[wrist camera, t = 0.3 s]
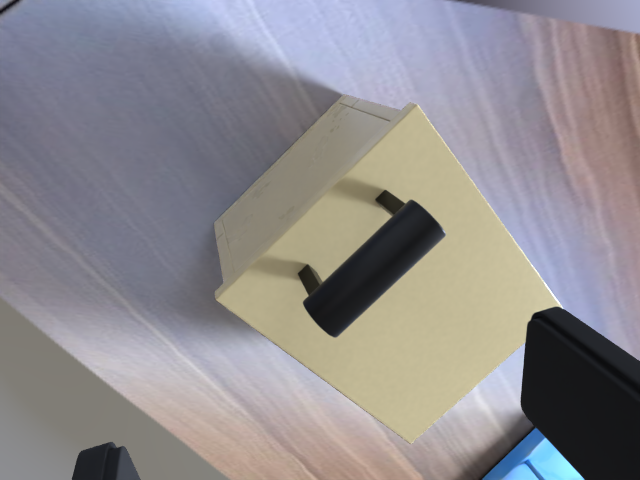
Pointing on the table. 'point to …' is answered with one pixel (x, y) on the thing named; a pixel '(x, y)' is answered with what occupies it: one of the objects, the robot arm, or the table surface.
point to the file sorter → (534, 462)
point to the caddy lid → (394, 281)
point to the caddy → (296, 178)
